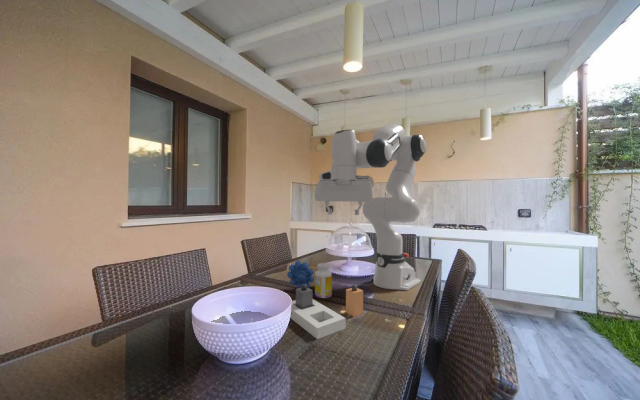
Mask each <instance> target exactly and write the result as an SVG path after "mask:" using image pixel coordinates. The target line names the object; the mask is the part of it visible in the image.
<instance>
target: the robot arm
mask: <svg viewBox="0 0 640 400" xmlns="http://www.w3.org/2000/svg"><path fill="white" fill-rule="evenodd" d="M403 127H404V126H403ZM403 127H402V125H400V124H398V123H397V124H396V123H391V124H387V125H384V126H382V127H379V128H378V129H377V130H376V131H375V132H374V133H373V135H372V137H371V140H368V141H362V142H360V141H359V140H358V139H357V135H356V132H355V130H354V129H343V130H338V131H336V132H335V133H334V134H333V136H332V140H331V141H332V142H331V158H332V159H331V160H332V161H331V162H332V164H331V166H330V167H331V170H328V171H324V172H322V173H320V174H319V175H318V179H319V181H317V182H316V185H315V192H314V199H315V201H316V202H324V206H325V208H326V209H327V215H333V209H332V208H330V202H355V203H357V205H358V207H357V209H354V216H355V215H356V216H359V215H360V210H361V208H362V214H363V215H364V217H365V218H366V220H368V221H369V223H370V224H371V225H372V227H373V230H374V233H375V236H376V253H375V261H376V262H375V266H374V267H375V268H374V276H373V277H372V279H373V283H372V284H373V285H374V286H376V287H379V288H382V289H385V290H386V289H387V290H399V291H400V290H401V291H409V290H410V289H411V288H413V287H415V286H417V285H419V284H420V283H421V279H420V278H418V277H416V271H415V268H414V267H413V266H412V265H410V264H409V263H408V262H407V261H406V259H409V256H410V255H409V253H406V252H403V245H404V244H403V242H404V241H403V240H404V239H403V236H402V234H401V233H400V232H399V231H397V230H396V229H395V228H394V227H393V225H392V223H400V224H404V223H412V222H415V221H416V220H418V218H419V216H420V212H421V210H420V209H421V207H420V205H419V203H418V202H417V200H416V199H414V198H413V197H412V196H411V190H412V185H413V182H414V179H415V175H416V163H415V162H419V161H420V160H421V158H422V157H423V156H424V155H425V152H426V151H427V142H426V139H425V137H424V136H423V135H422V134H412V135H405V134H406V132H405V129H404V128H403ZM392 161H396V164H395V165H394V167H393V168H392V170H391V172H390V175H389V176H388V177H389V178H388V179H387V182H386V185H385V187H386V188H385V189H386V192H387V194H389V195H390V196H391V197H388V196H387V197H385V196H384V197H374V196H373V194H374V193H373V187H374V185H375V184H374V179H373V177H372V176H370V175H357V169H358V170H359V169H370V168H371V169H373V168H385V167H387V165H388V164H389V163H390V162H392Z"/></svg>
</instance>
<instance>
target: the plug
mask: <svg viewBox="0 0 640 400" xmlns="http://www.w3.org/2000/svg"><path fill="white" fill-rule="evenodd" d="M345 313H346V314H347V315H350V316H352V317H353V318H355V317H358V316H361V315H363V314H364V290H363V289H361V288H358V285H357V284H352V285H351V287H350V288H346V289H345Z"/></svg>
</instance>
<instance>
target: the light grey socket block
mask: <svg viewBox="0 0 640 400" xmlns="http://www.w3.org/2000/svg"><path fill="white" fill-rule="evenodd" d="M291 301H292V314H291V318H290V319H291V320H292V321H293V322H295V323H296V324H297V325H298V326H300V327H301V328H302V329H304V330H305V331H306V332H307V333H309V334H310V335H311V336H312V337H314V338H315V339H316V340H320V339H322V338H324V337H327V336H331V335H332V334H335V333H339V332H340V331H343V330H346V328H347V327H346V321H347V319H346V318H347V317H344V316H342V315H341V314H339V313H338V312H336V311H334V310H332V309H330V308H329V307H327V306H325V305H324V304H322V303H321V302H318V301H317V300H316V299H314V298H313V307H309V308H306V309H302V310H301V309H299V308H298V307H297V306H296V299H294V300H291Z"/></svg>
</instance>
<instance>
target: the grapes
mask: <svg viewBox="0 0 640 400" xmlns="http://www.w3.org/2000/svg"><path fill="white" fill-rule="evenodd" d="M309 266H310V265H309V264H308V263H307V262H300V261H298V260H297V261H295V262H294V264H289V265H288V272H287V274H286V276H287V278H288V279H290V280H289V283H290V284H291V285H292V286H296V289H298V288H301V285H302V284H306V285H307V287H308V288H310V287H311V283H314V282H315V276H313V274H314V269H312V268H310V267H309Z"/></svg>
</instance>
